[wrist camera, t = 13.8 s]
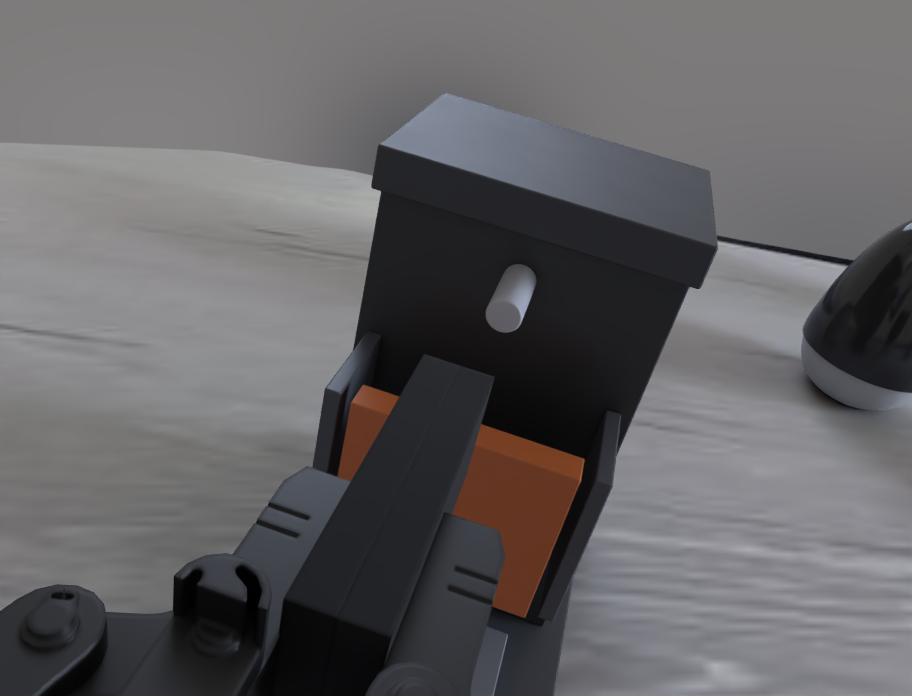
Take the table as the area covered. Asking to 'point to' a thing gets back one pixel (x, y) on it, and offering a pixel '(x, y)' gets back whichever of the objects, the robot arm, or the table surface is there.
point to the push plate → (492, 492)
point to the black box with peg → (526, 309)
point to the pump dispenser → (866, 328)
